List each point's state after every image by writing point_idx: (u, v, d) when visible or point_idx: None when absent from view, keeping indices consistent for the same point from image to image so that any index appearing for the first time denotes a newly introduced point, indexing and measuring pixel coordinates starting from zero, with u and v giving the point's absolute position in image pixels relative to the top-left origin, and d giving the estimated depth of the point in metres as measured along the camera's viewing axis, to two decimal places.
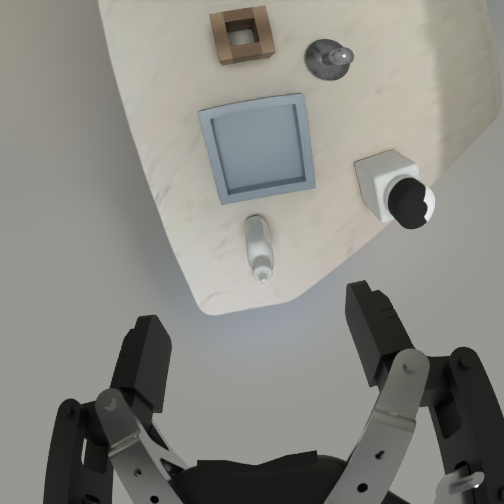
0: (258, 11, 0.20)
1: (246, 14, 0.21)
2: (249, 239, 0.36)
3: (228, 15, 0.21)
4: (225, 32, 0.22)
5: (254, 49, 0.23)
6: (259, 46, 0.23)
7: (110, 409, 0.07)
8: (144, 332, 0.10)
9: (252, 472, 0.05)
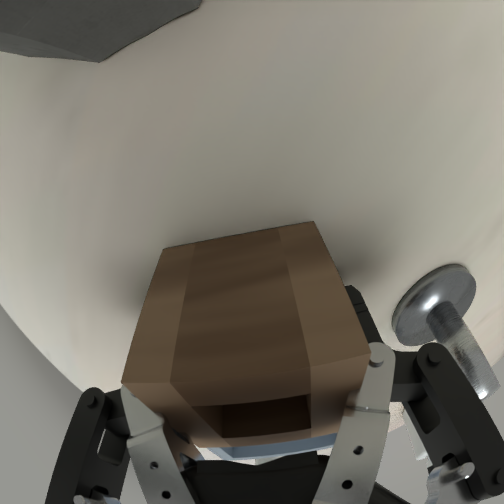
0: (334, 376, 0.06)
1: (279, 390, 0.06)
2: None
3: (200, 392, 0.06)
4: (201, 422, 0.07)
5: (291, 437, 0.09)
6: (307, 433, 0.08)
7: None
8: None
9: (252, 472, 0.05)
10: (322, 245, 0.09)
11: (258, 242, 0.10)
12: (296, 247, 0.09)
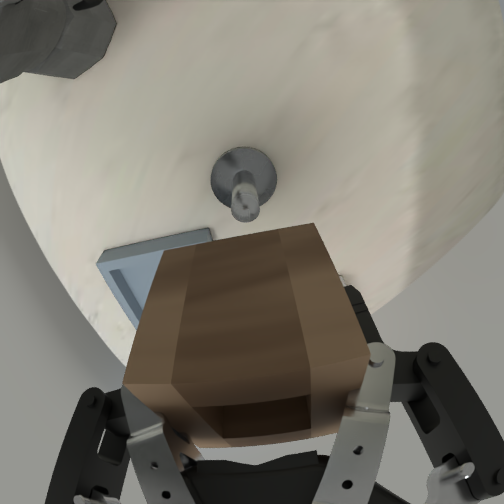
0: (333, 377, 0.06)
1: (279, 391, 0.06)
2: None
3: (201, 393, 0.06)
4: (202, 423, 0.07)
5: (291, 437, 0.09)
6: (307, 433, 0.08)
7: None
8: None
9: (252, 472, 0.05)
10: (322, 247, 0.09)
11: (258, 244, 0.10)
12: (296, 248, 0.09)
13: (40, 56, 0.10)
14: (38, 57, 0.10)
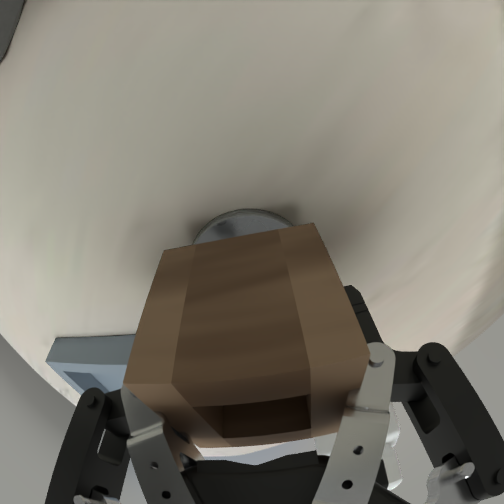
0: (333, 377, 0.06)
1: (279, 390, 0.06)
2: None
3: (201, 393, 0.06)
4: (202, 422, 0.07)
5: (291, 437, 0.09)
6: (307, 433, 0.08)
7: None
8: None
9: (252, 472, 0.05)
10: (322, 247, 0.09)
11: (258, 244, 0.10)
12: (296, 249, 0.09)
13: None
14: None
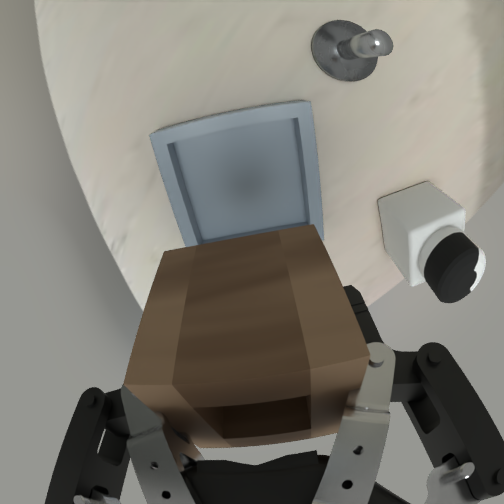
0: (333, 378, 0.06)
1: (279, 391, 0.06)
2: None
3: (202, 394, 0.06)
4: (202, 423, 0.07)
5: (291, 437, 0.09)
6: (307, 433, 0.08)
7: None
8: None
9: (252, 472, 0.05)
10: (322, 248, 0.09)
11: (259, 244, 0.10)
12: (296, 249, 0.09)
13: None
14: None
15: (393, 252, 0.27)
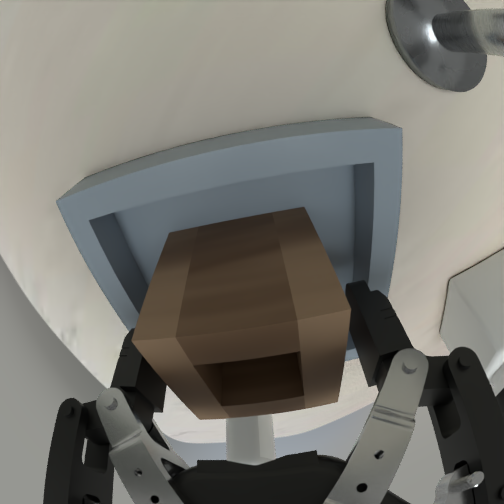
0: (319, 332, 0.07)
1: (271, 345, 0.07)
2: (230, 452, 0.15)
3: (202, 348, 0.07)
4: (202, 385, 0.08)
5: (285, 406, 0.10)
6: (300, 401, 0.10)
7: (111, 408, 0.07)
8: None
9: (252, 472, 0.05)
10: (311, 225, 0.10)
11: (254, 224, 0.11)
12: (287, 227, 0.10)
13: None
14: None
15: None
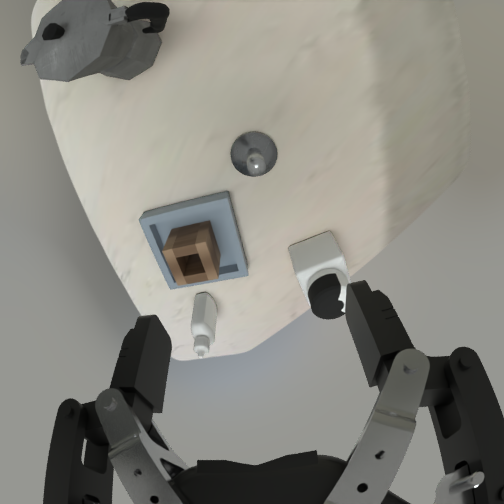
0: (200, 247, 0.35)
1: (191, 250, 0.35)
2: (192, 320, 0.42)
3: (177, 251, 0.35)
4: (177, 265, 0.36)
5: (202, 278, 0.37)
6: (205, 275, 0.37)
7: (110, 409, 0.07)
8: (144, 332, 0.10)
9: (252, 472, 0.05)
10: (208, 225, 0.38)
11: (194, 225, 0.39)
12: (202, 226, 0.38)
13: (116, 61, 0.20)
14: (115, 61, 0.20)
15: None
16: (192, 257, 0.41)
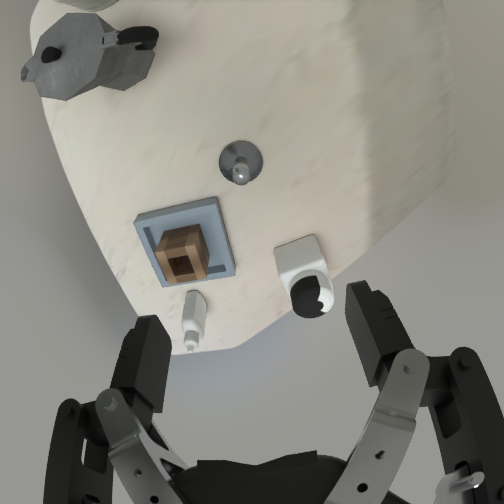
0: (190, 249, 0.37)
1: (181, 252, 0.37)
2: (182, 316, 0.45)
3: (168, 253, 0.37)
4: (169, 266, 0.38)
5: (191, 277, 0.40)
6: (194, 275, 0.40)
7: (110, 409, 0.07)
8: (144, 332, 0.10)
9: (252, 472, 0.05)
10: (197, 228, 0.40)
11: (185, 228, 0.41)
12: (192, 229, 0.40)
13: (111, 76, 0.22)
14: (110, 77, 0.22)
15: None
16: (183, 258, 0.43)
